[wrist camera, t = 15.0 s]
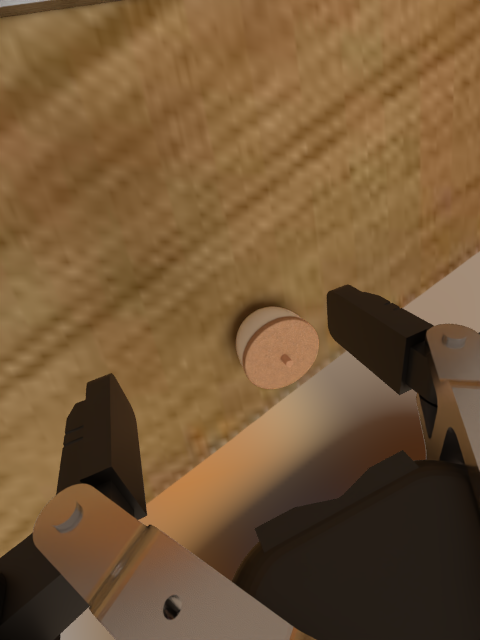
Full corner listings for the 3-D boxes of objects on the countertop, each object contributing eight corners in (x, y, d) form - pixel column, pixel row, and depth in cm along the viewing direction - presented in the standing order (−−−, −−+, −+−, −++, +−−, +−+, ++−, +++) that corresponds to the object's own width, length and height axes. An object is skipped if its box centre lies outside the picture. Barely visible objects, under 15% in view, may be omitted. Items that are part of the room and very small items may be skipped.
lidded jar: (247, 284, 43) (278, 315, 35) (303, 308, 48) (341, 339, 40) (213, 349, 46) (234, 390, 38) (270, 364, 51) (298, 403, 43)
